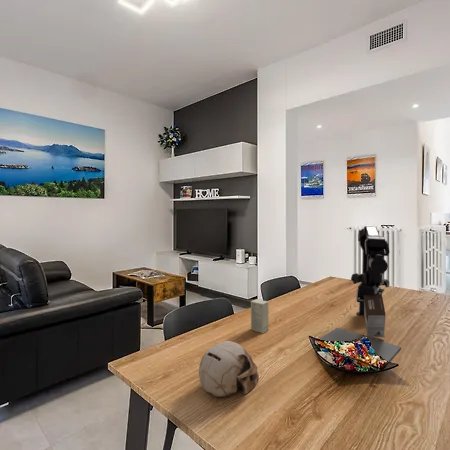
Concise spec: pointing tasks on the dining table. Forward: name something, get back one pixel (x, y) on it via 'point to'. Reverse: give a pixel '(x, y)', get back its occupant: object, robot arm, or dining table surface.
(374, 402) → the dining table surface
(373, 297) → the coffee box
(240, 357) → the coin bank
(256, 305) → the skincare box
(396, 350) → the mat
